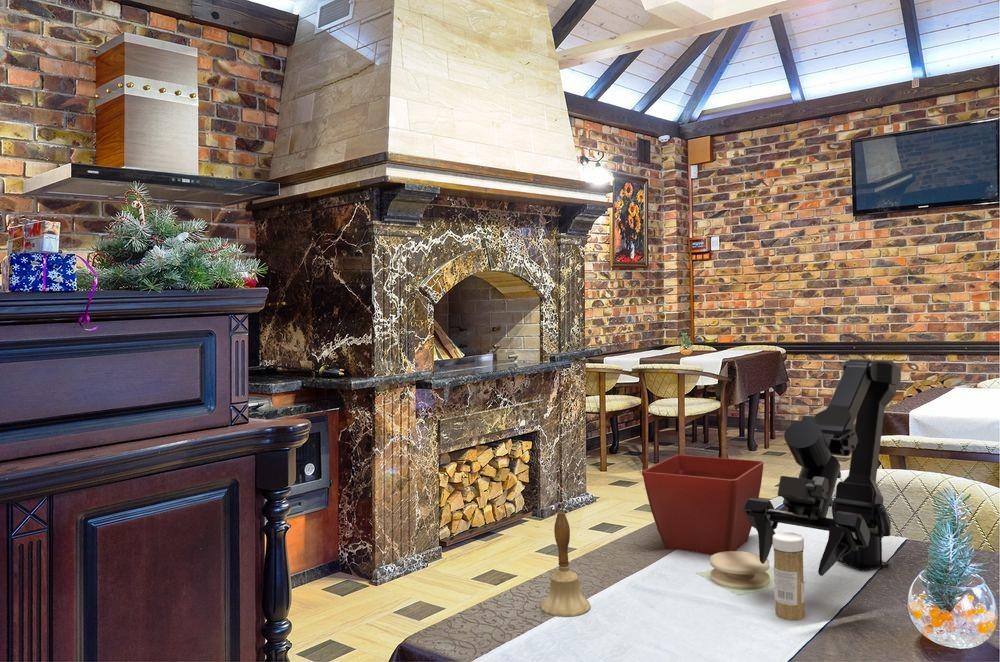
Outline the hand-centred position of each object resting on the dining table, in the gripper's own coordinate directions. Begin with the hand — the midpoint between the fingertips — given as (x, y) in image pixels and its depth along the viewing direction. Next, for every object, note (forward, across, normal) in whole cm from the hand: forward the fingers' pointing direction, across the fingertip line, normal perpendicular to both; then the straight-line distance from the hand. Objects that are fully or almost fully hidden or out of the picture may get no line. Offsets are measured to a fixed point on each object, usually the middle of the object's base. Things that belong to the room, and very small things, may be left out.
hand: (790, 568), depth 122 cm
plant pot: (-12, -28, +23) cm, 38 cm away
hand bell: (+18, -31, -6) cm, 36 cm away
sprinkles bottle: (+6, 0, +6) cm, 8 cm away
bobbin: (-2, -13, +12) cm, 18 cm away
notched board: (-2, -12, +14) cm, 18 cm away
